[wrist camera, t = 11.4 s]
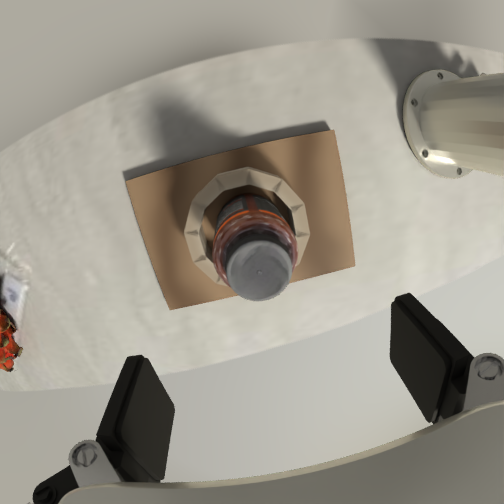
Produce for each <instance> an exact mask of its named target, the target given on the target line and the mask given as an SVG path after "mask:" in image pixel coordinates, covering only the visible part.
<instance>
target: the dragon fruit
mask: <svg viewBox="0 0 504 504" xmlns="http://www.w3.org/2000/svg"><path fill="white" fill-rule="evenodd" d="M6 317H7V316H6V314H5V312H4V311H3V310H2V309H0V369H3V370H5V371H7V372H11V371H12V370H13V369H14V368H12V367H13V365H14V362H13V360H12V359H15V358H17V356H18V357H20V355H21V353H22V350H23V348H22V347H19V346H18V345H17V343H16V342H15V341H14V340H13V339H12V338H11V335H12V334H13V333H15V332H16V327H15V325H13V324H12V322H10V320H9V318H6ZM17 353H18V354H17ZM13 354H15V355H13ZM17 370H18V369H17Z"/></svg>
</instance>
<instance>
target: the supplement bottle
mask: <svg viewBox="0 0 504 504" xmlns="http://www.w3.org/2000/svg"><path fill="white" fill-rule="evenodd" d="M212 256H213V263H214V267H215V269H216V272H217V273H218V275H219V277H220V278H221V279H222V281H223V282H224V283H225V284H226V285H227V286H229V287H231V288H232V289H233V291H234V292H235V293H237V294H238V295H239V296H241V297H242V298H245V299H247V300H251V301H264V300H269V299H272V298H274V297H276V296H277V295H279V294H280V293H281V292H282V291H283V290H284V289H285V288H286V287H287V285H288V284H289V282H290V279H291V276H292V273H293V271H294V269H295V267H296V264H297V260H298V244H297V241H296V238H295V235H294V233H293V231H292V230H291V228H290V227H289V225H288V224H287V222H286V221H285V219H284V218H283V216H282V215H281V213H280V212H279V211H278V209H277V208H276V206H275V205H274V204H273V203H272V202H271V201H269V200H268V199H267V198H265V197H263V196H261V195H258V194H252V193H247V194H240V195H237V196H235V197H233V198H232V199H230V200H229V201H227V202H226V203H225V205H224V206H223V207H222V208H221V210H220V212H219V214H218V217H217V222H216V228H215V235H214V242H213V251H212Z"/></svg>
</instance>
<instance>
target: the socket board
mask: <svg viewBox="0 0 504 504" xmlns="http://www.w3.org/2000/svg"><path fill="white" fill-rule="evenodd" d="M126 185H127V188H128V192H129V195H130V198H131V202H132V205H133V208H134V211H135V215H136V218H137V221H138V224H139V227H140V230H141V233H142V236H143V239H144V242H145V245H146V248H147V251H148V254H149V256H150V259H151V262H152V265H153V268H154V270H155V273H156V276H157V278H158V281H159V284H160V286H161V289H162V292H163V294H164V297H165V299H166V302H167V304H168V307H169V309H170V310H174V309H178V308H183V307H188V306H192V305H197V304H202V303H206V302H211V301H215V300H220V299H224V298H229V297H233V296H237V295H238V294H237V293H235V292H234V291H233V289H232V288H231V287H229V286H227V285H226V284H225V283H224V282H223V281H222V279H221V278H220V277H219V275H218V273H217V272H216V269H215V267H214V263H213V256H212V251H213V242H214V235H215V228H216V222H217V217H218V214H219V212H220V210H221V208H222V207H223V206H224V205H225V203H226V202H227V201H229V200H230V199H232V198H233V197H235V196H237V195H240V194H247V193H252V194H258V195H261V196H263V197H265V198H267V199H268V200H269V201H271V202H272V203H273V204H274V205H275V206H276V208H277V209H278V211H279V212H280V213H281V215H282V216H283V218H284V219H285V221H286V222H287V224H288V225H289V227H290V228H291V230H292V231H293V233H294V235H295V238H296V241H297V244H298V260H297V264H296V267H295V269H294V271H293V273H292V276H291V279H290V282H289V283H292V282H296V281H300V280H304V279H308V278H312V277H316V276H320V275H323V274H327V273H331V272H335V271H339V270H342V269H346V268H350V267H354V266H355V259H354V250H353V241H352V233H351V225H350V218H349V211H348V204H347V197H346V191H345V185H344V179H343V173H342V167H341V162H340V156H339V151H338V146H337V141H336V136H335V131H334V130H329V131H323V132H317V133H311V134H305V135H300V136H295V137H289V138H284V139H279V140H274V141H270V142H265V143H260V144H256V145H251V146H247V147H243V148H239V149H234V150H230V151H226V152H222V153H218V154H215V155H211V156H207V157H203V158H200V159H196V160H192V161H189V162H185V163H182V164H178V165H175V166H172V167H168V168H165V169H162V170H158V171H155V172H152V173H149V174H146V175H143V176H140V177H137V178H134V179H131V180H128V181H126Z"/></svg>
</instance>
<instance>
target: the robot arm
mask: <svg viewBox="0 0 504 504" xmlns="http://www.w3.org/2000/svg"><path fill="white" fill-rule="evenodd" d="M411 103H412V104H411ZM403 122H404V129H405V133H406V136H407V140H408V142H409V145H410V147H411V149H412V151H413V153H414V154H415V156H416V157H417V159H418V160H419V161H420V163H421V164H422V165H423V166H424V167H425V168H426V169H428V170H429V171H430V172H432V173H434V174H436V175H438V176H441V177H444V178H451V179H456V178H461V177H463V176H465V175H467V174H469V173H470V172H471V171H472V170H478V171H482V172H487V173H491V174H495V175H499V176H503V177H504V73H497V74H489V75H486V74H485V73H482V74H481V75H480V76H475V77H469V78H460V77H459V76H457V75H456V74H454V73H452V72H449V71H446V70H441V69H438V70H430V71H427V72H424V73H422V74H420V75H419V76H417V77H416V78H415V79H414V80H413V81H412V83H411V84H410V86H409V88H408V90H407V93H406V95H405V99H404V105H403ZM390 360H391V363H392V364H393V366H394V368H395V369H396V371H397V373H398V374H399V376H400V377H401V379H402V381H403V382H404V384H405V385H406V387H407V388H408V390H409V392H410V393H411V395H412V397H413V399H414V400H415V402H416V404H417V405H418V407H419V409H420V410H421V412H422V414H423V415H424V417H425V419H426V420H427V421H428V422H429V423H430V422H432V423H433V425H431V426H429V427H427V428H424V429H422V430H420V431H417V432H415V433H412V434H410V435H407V436H405V437H402V438H400V439H397V440H394V441H392V442H389V443H386V444H384V445H381V446H378V447H375V448H372V449H369V450H366V451H363V452H360V453H357V454H354V455H350V456H347V457H344V458H340V459H337V460H333V461H329V462H325V463H321V464H317V465H313V466H309V467H304V468H299V469H295V470H290V471H284V472H279V473H273V474H267V475H261V476H254V477H246V478H238V479H228V480H218V481H205V482H204V481H203V482H176V483H160V480H163V479H164V476H165V470H166V463H167V456H168V450H169V443H170V436H171V430H172V425H173V418H174V413H175V408H174V404H173V402H172V401H171V399H170V397H169V396H168V394H167V392H166V390H165V389H164V387H163V385H162V383H161V381H160V380H159V378H158V376H157V374H156V372H155V370H154V368H153V367H152V365H151V363H150V361H149V359H148V358H144V356H142V355H136V356H129V357H127V359H126V361H125V363H124V366H123V368H122V370H121V373H120V375H119V378H118V380H117V382H116V385H115V387H114V390H113V393H112V395H111V398H110V400H109V402H108V405H107V408H106V410H105V413H104V416H103V418H102V421H101V423H100V426H99V429H98V432H97V434H96V435H97V438H96V441H94V440H84V441H82V442H79V443H78V444H76V445H75V446H74V447H73V448H72V450H71V451H70V453H69V464H70V465H69V466H68V467H66V468H65V469H63V470H61V471H60V472H58V473H56V474H55V475H53V476H52V477H50V478H48V479H47V480H45V481H43V482H42V483H40V484H39V485H38V486H37V487H36V488H35V490H34V493H33V502H34V503H33V504H504V359H503V358H501V357H500V356H498V355H496V354H492V353H483V354H480V355H478V356H476V357H475V358H474V357H473V356H472V355H471V354H470V353H469V351H468V350H467V349H466V348H465V347H464V346H463V345H462V344H461V343H460V342H459V341H458V340H457V338H456V337H455V336H454V335H453V334H452V333H451V332H450V331H449V330H448V329H447V328H446V327H445V326H444V325H443V324H442V323H441V322H440V321H439V320H438V319H436V318H435V317H434V316H433V315H432V314H431V313H430V312H429V311H428V310H427V309H426V308H425V307H424V306H423V305H422V304H421V303H420V302H419V301H418V300H417V299H416V298H415V297H414V296H413V295H412V294H411V293H407V294H403V295H400V296H397V297H396V298H395V301H394V302H392V304H391V340H390ZM28 504H31V503H30V502H29V503H28Z"/></svg>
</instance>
